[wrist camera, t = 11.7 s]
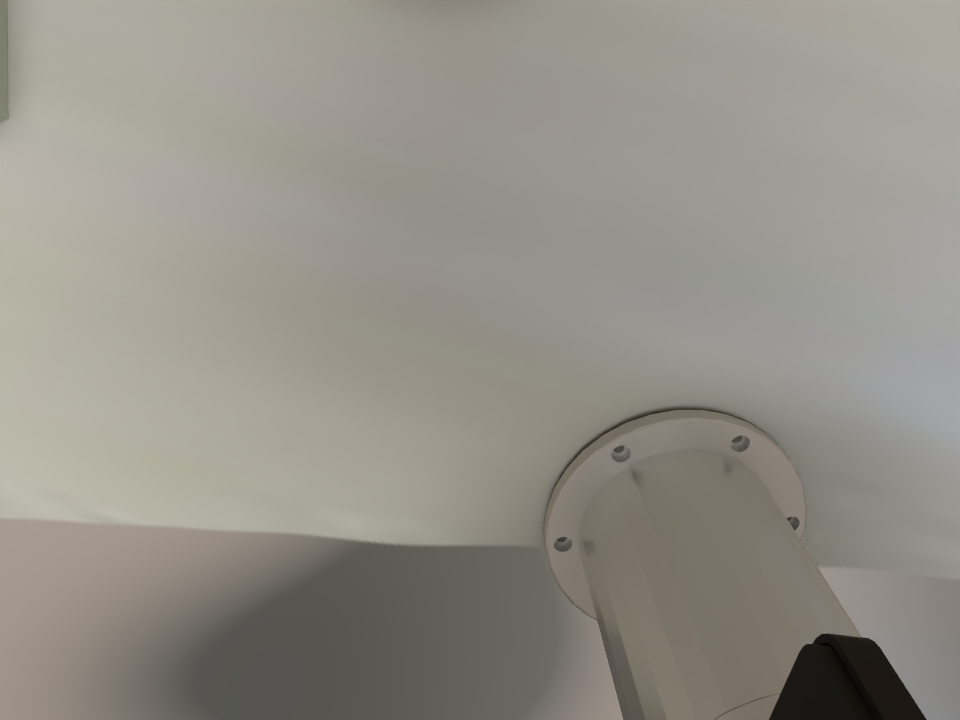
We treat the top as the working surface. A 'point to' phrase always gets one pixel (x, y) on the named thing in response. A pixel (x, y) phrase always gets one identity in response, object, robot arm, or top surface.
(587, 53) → the top surface
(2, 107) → the sage block
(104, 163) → the top surface
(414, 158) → the top surface
